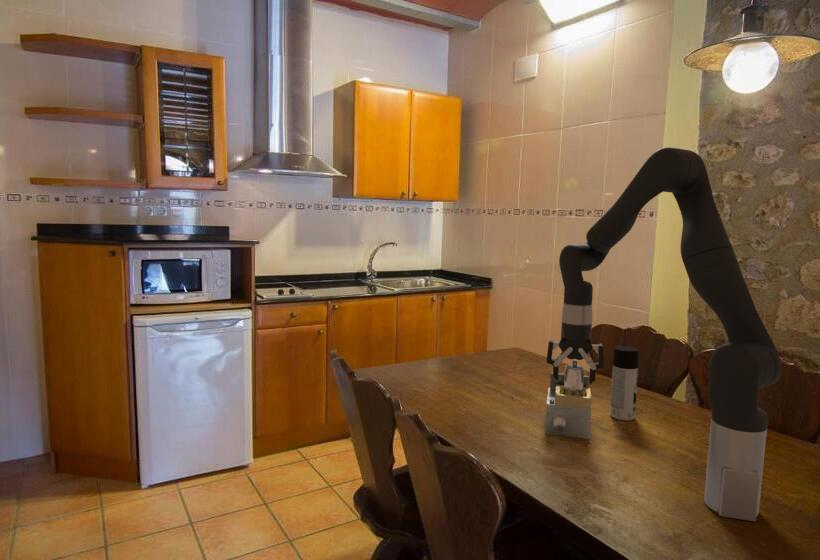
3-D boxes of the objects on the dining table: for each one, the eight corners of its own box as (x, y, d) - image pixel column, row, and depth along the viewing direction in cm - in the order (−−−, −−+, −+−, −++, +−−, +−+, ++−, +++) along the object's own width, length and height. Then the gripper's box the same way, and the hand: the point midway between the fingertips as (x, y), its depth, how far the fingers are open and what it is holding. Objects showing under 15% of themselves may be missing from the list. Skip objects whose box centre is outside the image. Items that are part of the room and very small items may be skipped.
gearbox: (589, 443, 133) (592, 393, 131) (544, 438, 136) (546, 388, 134) (587, 419, 149) (590, 374, 147) (547, 414, 152) (549, 370, 150)
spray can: (637, 422, 147) (642, 352, 144) (611, 420, 148) (616, 350, 146) (632, 413, 153) (637, 346, 151) (607, 411, 155) (611, 344, 152)
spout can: (582, 404, 137) (584, 364, 136) (563, 402, 139) (565, 362, 137) (581, 398, 142) (584, 359, 141) (563, 396, 143) (565, 357, 142)
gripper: (548, 321, 136) (545, 382, 138) (606, 325, 132) (603, 388, 134) (549, 316, 143) (546, 374, 145) (604, 320, 139) (601, 379, 141)
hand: (573, 381), depth 140 cm, fingers open, 8 cm apart
